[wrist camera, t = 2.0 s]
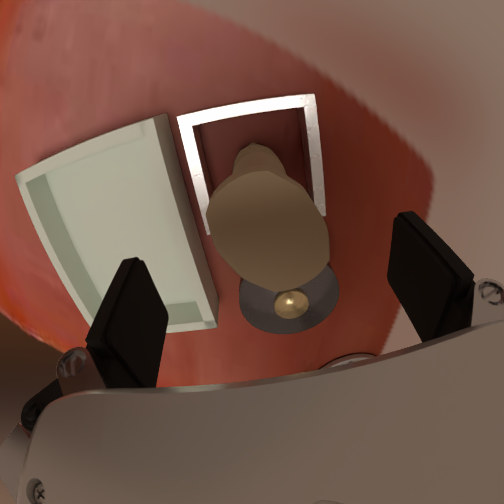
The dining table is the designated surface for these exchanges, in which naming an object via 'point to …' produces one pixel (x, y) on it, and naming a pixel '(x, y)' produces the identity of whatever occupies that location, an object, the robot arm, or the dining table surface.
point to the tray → (122, 220)
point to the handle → (267, 223)
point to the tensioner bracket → (325, 283)
